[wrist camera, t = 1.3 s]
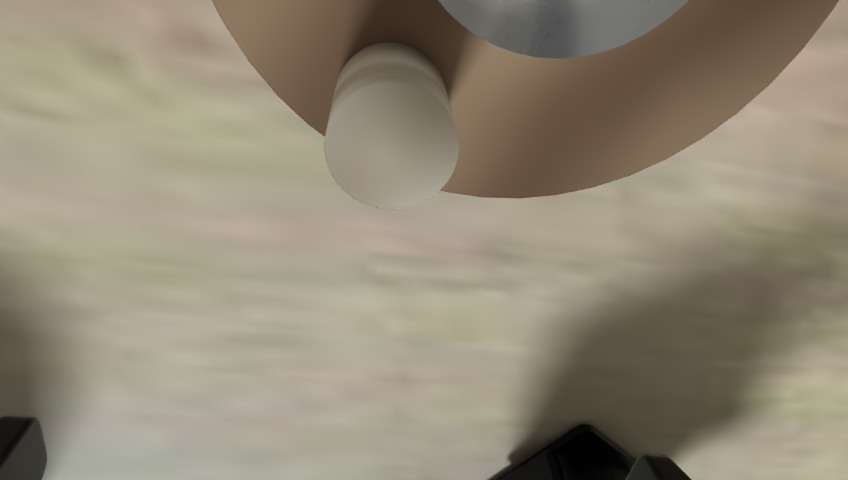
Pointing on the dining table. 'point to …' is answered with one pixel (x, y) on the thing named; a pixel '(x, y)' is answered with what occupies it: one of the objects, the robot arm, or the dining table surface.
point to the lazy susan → (507, 92)
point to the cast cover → (560, 23)
